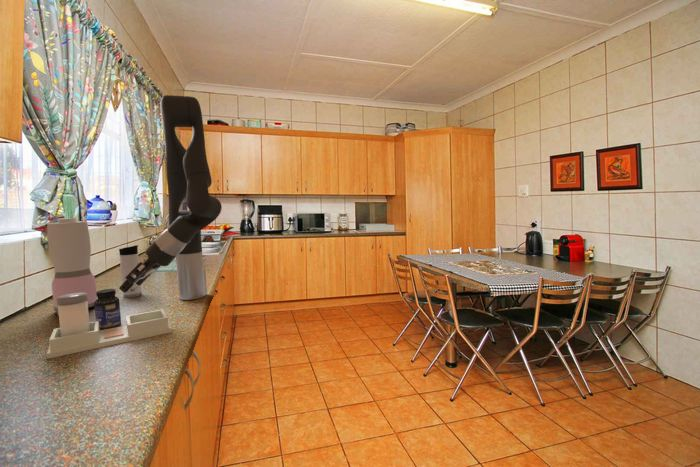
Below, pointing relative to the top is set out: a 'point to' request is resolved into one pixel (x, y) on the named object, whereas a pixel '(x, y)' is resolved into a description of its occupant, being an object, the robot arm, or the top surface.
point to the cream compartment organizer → (88, 336)
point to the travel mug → (129, 268)
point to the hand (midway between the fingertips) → (129, 286)
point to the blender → (71, 259)
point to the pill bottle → (107, 309)
